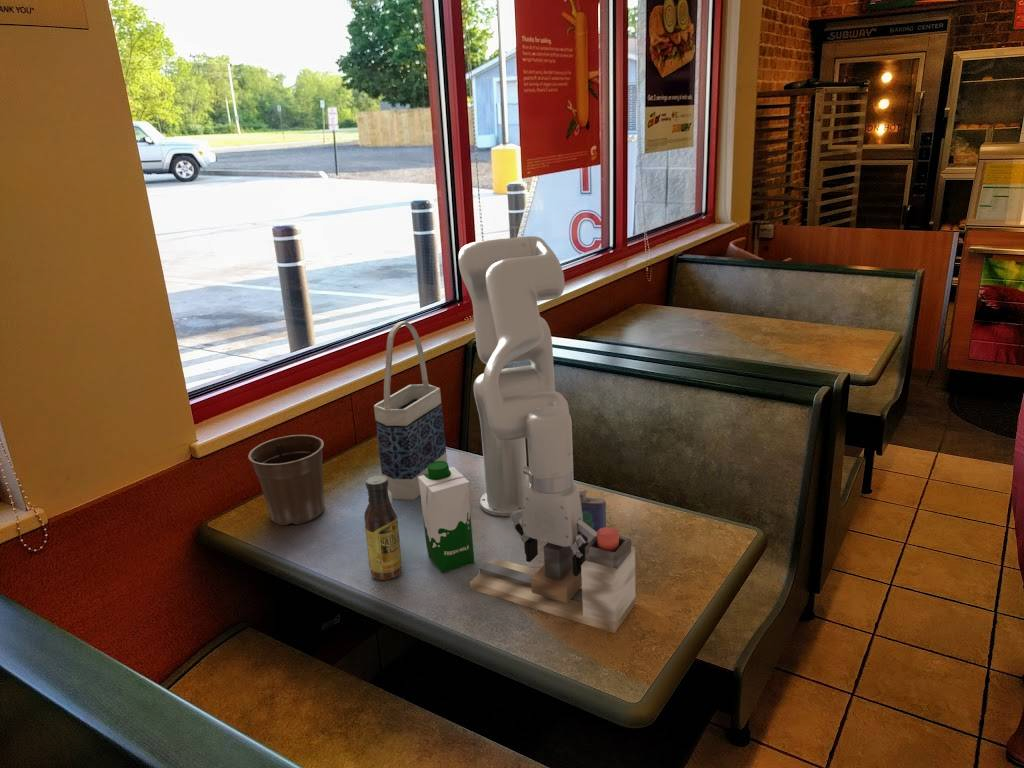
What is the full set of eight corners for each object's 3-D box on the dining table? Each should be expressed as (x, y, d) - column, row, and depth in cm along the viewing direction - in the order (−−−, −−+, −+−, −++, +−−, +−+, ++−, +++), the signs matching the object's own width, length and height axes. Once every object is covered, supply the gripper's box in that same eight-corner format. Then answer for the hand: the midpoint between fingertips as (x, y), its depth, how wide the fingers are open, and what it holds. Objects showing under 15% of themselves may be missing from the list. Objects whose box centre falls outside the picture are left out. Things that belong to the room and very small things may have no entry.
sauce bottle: (388, 585, 145) (375, 491, 138) (363, 576, 148) (350, 484, 142) (410, 567, 150) (399, 476, 144) (386, 560, 153) (374, 470, 147)
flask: (608, 537, 156) (606, 490, 153) (604, 544, 154) (602, 497, 150) (565, 531, 160) (562, 485, 156) (560, 538, 157) (558, 491, 154)
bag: (422, 464, 195) (405, 312, 182) (451, 469, 191) (436, 314, 178) (380, 496, 180) (358, 332, 167) (411, 502, 176) (391, 335, 163)
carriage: (531, 592, 135) (529, 548, 132) (553, 569, 141) (551, 526, 138) (567, 603, 131) (565, 557, 128) (587, 579, 138) (586, 535, 135)
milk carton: (462, 543, 157) (454, 455, 151) (481, 564, 150) (473, 472, 143) (422, 556, 154) (412, 466, 147) (439, 578, 146) (429, 484, 139)
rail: (470, 589, 142) (464, 522, 137) (496, 564, 149) (491, 500, 145) (614, 633, 127) (613, 560, 123) (635, 604, 135) (634, 534, 130)
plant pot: (245, 520, 173) (232, 455, 168) (300, 490, 185) (289, 429, 180) (294, 537, 164) (282, 469, 159) (348, 505, 177) (338, 441, 171)
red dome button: (593, 550, 128) (593, 535, 127) (602, 539, 130) (602, 525, 129) (613, 555, 126) (613, 540, 125) (622, 544, 129) (622, 529, 128)
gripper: (496, 477, 131) (502, 563, 137) (587, 499, 122) (589, 589, 128) (519, 460, 137) (524, 542, 143) (607, 479, 128) (608, 566, 134)
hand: (555, 564), depth 136 cm, fingers open, 9 cm apart
